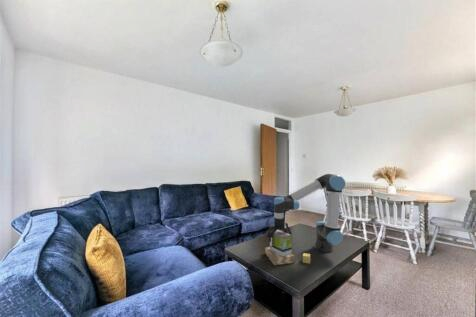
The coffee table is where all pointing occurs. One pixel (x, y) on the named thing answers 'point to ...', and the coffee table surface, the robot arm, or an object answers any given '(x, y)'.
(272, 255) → the oak pedestal
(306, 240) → the coffee table surface
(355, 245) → the coffee table surface
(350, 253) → the coffee table surface
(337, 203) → the robot arm
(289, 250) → the tea box
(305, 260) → the mustard cube
